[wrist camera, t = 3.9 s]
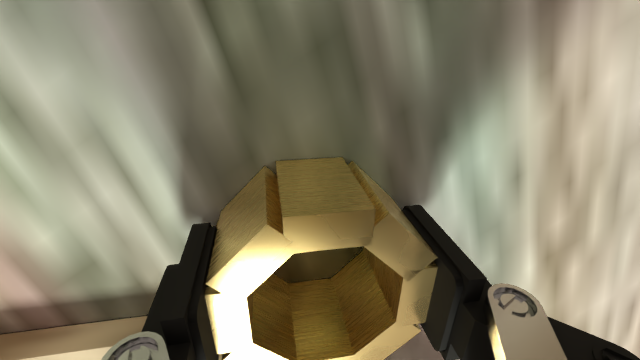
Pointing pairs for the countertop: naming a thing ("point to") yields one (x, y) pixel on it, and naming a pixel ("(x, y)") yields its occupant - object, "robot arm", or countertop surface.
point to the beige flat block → (69, 341)
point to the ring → (325, 294)
